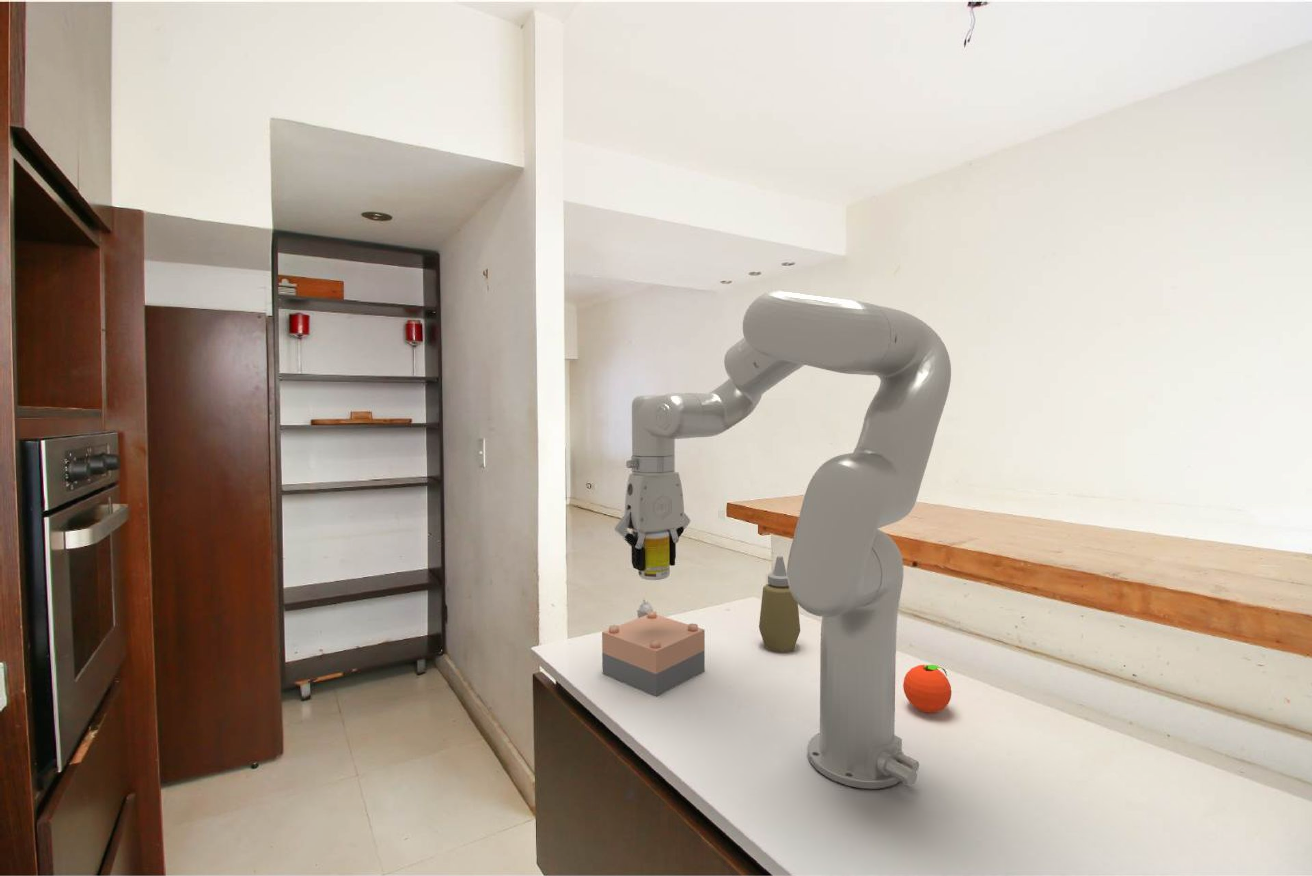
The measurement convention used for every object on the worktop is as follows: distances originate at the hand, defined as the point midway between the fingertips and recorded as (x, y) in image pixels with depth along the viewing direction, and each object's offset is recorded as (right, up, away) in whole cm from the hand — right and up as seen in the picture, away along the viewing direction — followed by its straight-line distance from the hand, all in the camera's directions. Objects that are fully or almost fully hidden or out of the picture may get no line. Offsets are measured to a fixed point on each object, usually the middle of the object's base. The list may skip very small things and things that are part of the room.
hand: (654, 565), depth 108 cm
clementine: (+43, -20, -13) cm, 49 cm away
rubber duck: (-1, -19, +18) cm, 26 cm away
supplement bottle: (0, -2, 0) cm, 2 cm away
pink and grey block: (0, -19, +1) cm, 19 cm away
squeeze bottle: (+25, -19, +12) cm, 33 cm away
